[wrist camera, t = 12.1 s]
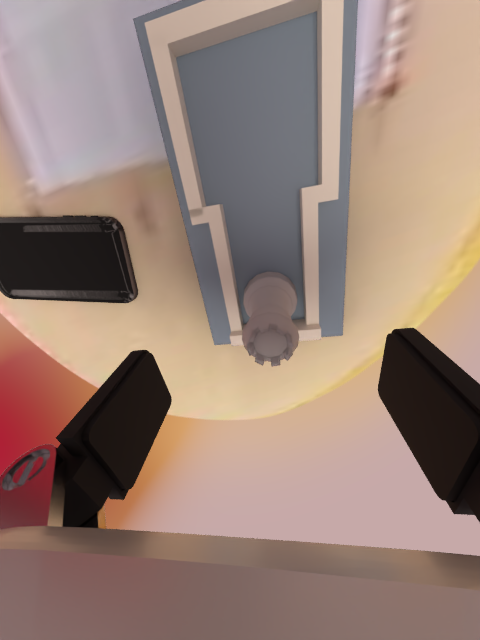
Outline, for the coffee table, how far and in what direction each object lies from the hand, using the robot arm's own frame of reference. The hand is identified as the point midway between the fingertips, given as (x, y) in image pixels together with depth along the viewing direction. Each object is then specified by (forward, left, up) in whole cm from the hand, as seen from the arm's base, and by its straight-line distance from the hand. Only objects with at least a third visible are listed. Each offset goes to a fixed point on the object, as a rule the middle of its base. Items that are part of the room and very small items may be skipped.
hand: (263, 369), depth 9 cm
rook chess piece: (+1, 0, -11) cm, 11 cm away
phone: (-5, -20, -13) cm, 24 cm away
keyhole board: (-6, 0, -12) cm, 13 cm away
